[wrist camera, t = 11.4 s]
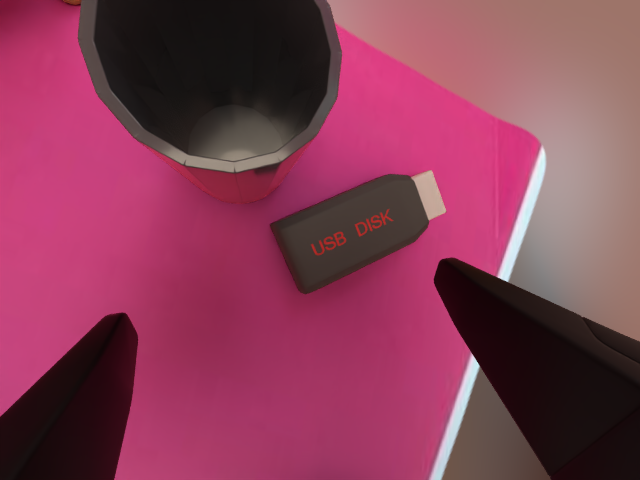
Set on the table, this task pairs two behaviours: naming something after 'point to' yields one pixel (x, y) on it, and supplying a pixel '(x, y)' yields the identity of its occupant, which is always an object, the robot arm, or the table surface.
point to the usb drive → (356, 227)
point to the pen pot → (216, 83)
